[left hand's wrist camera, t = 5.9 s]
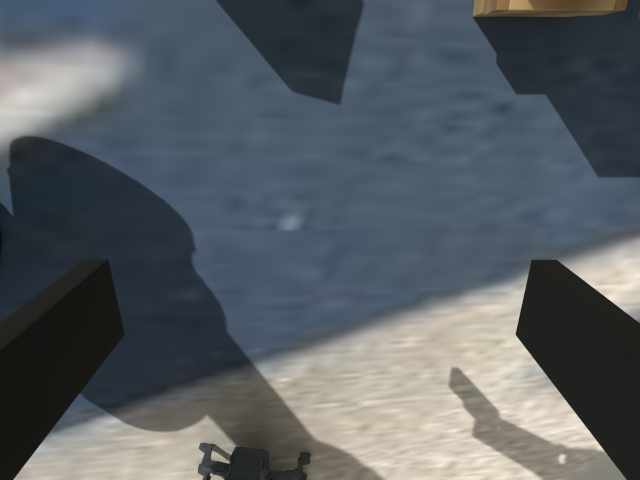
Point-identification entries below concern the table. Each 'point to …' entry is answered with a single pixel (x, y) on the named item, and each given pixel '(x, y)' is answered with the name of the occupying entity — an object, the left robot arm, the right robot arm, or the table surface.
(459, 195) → the table surface
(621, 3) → the holder
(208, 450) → the toy
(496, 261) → the table surface
